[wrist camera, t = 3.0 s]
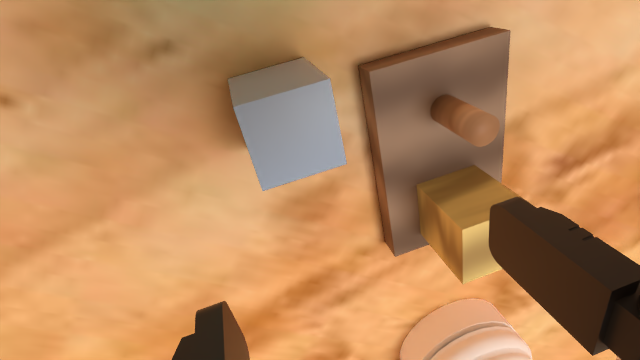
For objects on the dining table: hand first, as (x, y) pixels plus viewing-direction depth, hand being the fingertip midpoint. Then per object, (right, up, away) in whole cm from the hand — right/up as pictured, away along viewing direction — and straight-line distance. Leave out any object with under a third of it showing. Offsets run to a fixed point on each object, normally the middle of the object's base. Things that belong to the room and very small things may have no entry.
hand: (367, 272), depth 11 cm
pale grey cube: (-4, +8, +14) cm, 16 cm away
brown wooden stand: (+8, +5, +19) cm, 21 cm away
